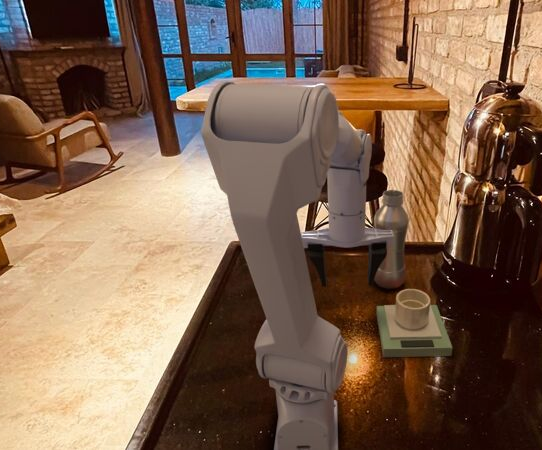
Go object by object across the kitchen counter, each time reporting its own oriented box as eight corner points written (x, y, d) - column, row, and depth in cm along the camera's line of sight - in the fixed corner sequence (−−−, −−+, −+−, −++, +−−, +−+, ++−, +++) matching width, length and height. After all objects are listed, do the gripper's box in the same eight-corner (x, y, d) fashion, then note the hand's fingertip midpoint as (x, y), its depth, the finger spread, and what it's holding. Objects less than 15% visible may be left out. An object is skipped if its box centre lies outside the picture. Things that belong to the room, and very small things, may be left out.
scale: (451, 356, 65) (453, 345, 64) (383, 357, 65) (383, 346, 64) (435, 312, 75) (436, 302, 74) (376, 313, 75) (376, 303, 74)
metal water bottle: (404, 294, 80) (411, 201, 71) (370, 291, 81) (372, 199, 73) (406, 276, 86) (412, 188, 77) (374, 273, 87) (376, 186, 78)
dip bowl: (431, 330, 67) (434, 308, 65) (397, 331, 67) (398, 309, 65) (424, 309, 72) (426, 288, 70) (392, 309, 72) (393, 289, 70)
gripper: (391, 197, 65) (387, 268, 71) (300, 198, 65) (305, 270, 71) (397, 215, 59) (393, 292, 65) (297, 217, 59) (302, 294, 65)
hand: (347, 282), depth 68 cm, fingers open, 7 cm apart
